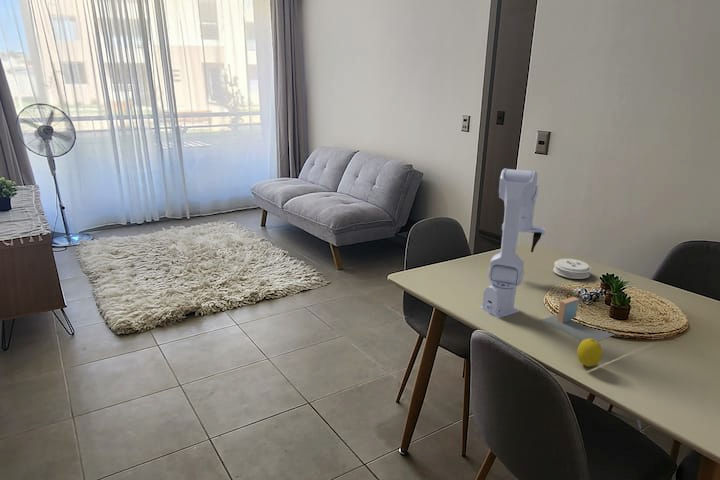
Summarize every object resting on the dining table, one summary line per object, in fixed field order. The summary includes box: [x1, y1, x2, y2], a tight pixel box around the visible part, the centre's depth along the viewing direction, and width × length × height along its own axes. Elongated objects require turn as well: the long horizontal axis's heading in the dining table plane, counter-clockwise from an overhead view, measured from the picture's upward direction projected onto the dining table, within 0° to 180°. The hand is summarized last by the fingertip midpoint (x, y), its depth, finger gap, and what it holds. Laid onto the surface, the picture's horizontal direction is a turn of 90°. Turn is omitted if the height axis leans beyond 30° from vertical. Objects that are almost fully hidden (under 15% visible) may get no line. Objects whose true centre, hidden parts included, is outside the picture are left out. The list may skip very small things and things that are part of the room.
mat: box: [541, 314, 616, 343], centre depth 135 cm, size 12×16×1 cm
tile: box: [557, 296, 580, 323], centre depth 138 cm, size 6×2×6 cm, turn 119°
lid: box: [552, 258, 591, 280], centre depth 173 cm, size 13×13×5 cm
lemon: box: [576, 338, 603, 367], centre depth 115 cm, size 6×6×8 cm
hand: (521, 249), depth 168 cm, fingers open, 7 cm apart
